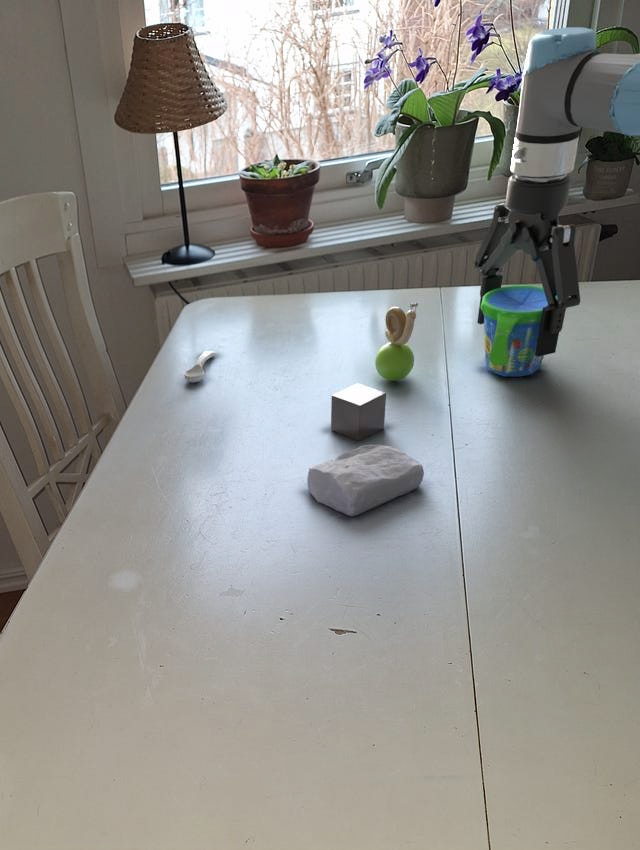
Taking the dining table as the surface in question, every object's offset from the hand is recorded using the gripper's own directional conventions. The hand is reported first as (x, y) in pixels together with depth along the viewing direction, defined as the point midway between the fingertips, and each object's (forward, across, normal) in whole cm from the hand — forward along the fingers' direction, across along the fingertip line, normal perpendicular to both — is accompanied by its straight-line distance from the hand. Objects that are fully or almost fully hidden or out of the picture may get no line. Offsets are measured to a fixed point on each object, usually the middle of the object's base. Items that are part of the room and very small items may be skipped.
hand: (514, 337), depth 130 cm
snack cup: (+5, 0, 0) cm, 5 cm away
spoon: (+5, -23, -39) cm, 46 cm away
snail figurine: (+5, -5, -16) cm, 17 cm away
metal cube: (+4, +6, -28) cm, 29 cm away
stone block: (+4, +20, -35) cm, 41 cm away
